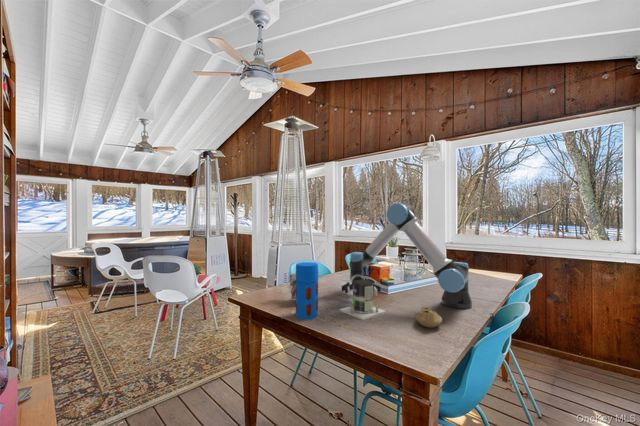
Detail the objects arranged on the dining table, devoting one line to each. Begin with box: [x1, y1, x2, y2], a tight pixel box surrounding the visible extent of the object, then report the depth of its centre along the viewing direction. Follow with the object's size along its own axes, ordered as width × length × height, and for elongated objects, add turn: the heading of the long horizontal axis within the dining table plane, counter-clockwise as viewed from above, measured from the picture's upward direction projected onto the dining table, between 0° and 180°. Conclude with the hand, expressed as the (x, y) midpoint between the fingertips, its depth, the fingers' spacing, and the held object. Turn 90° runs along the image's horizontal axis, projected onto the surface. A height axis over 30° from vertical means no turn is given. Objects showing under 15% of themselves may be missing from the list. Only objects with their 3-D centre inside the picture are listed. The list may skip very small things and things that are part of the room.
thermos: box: [295, 261, 319, 320], centre depth 142 cm, size 11×11×25 cm
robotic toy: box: [287, 273, 296, 301], centre depth 164 cm, size 13×17×15 cm
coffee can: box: [352, 279, 374, 313], centre depth 147 cm, size 10×10×14 cm
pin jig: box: [339, 304, 386, 321], centre depth 147 cm, size 16×16×4 cm
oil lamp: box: [415, 306, 443, 329], centre depth 131 cm, size 11×15×8 cm
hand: (362, 292), depth 145 cm, fingers open, 13 cm apart
